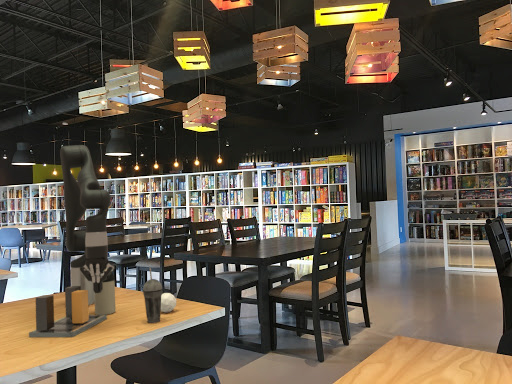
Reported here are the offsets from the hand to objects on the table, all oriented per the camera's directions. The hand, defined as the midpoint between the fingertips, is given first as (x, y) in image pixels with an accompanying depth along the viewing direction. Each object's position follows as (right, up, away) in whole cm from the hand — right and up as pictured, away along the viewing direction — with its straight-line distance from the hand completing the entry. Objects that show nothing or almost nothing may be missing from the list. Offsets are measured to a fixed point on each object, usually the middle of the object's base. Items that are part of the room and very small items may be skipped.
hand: (98, 292), depth 152 cm
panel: (-11, -13, +1) cm, 17 cm away
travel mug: (-5, -14, +21) cm, 26 cm away
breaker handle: (-7, -11, +1) cm, 13 cm away
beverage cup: (+19, -12, +5) cm, 23 cm away
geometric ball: (+21, -12, +18) cm, 31 cm away
